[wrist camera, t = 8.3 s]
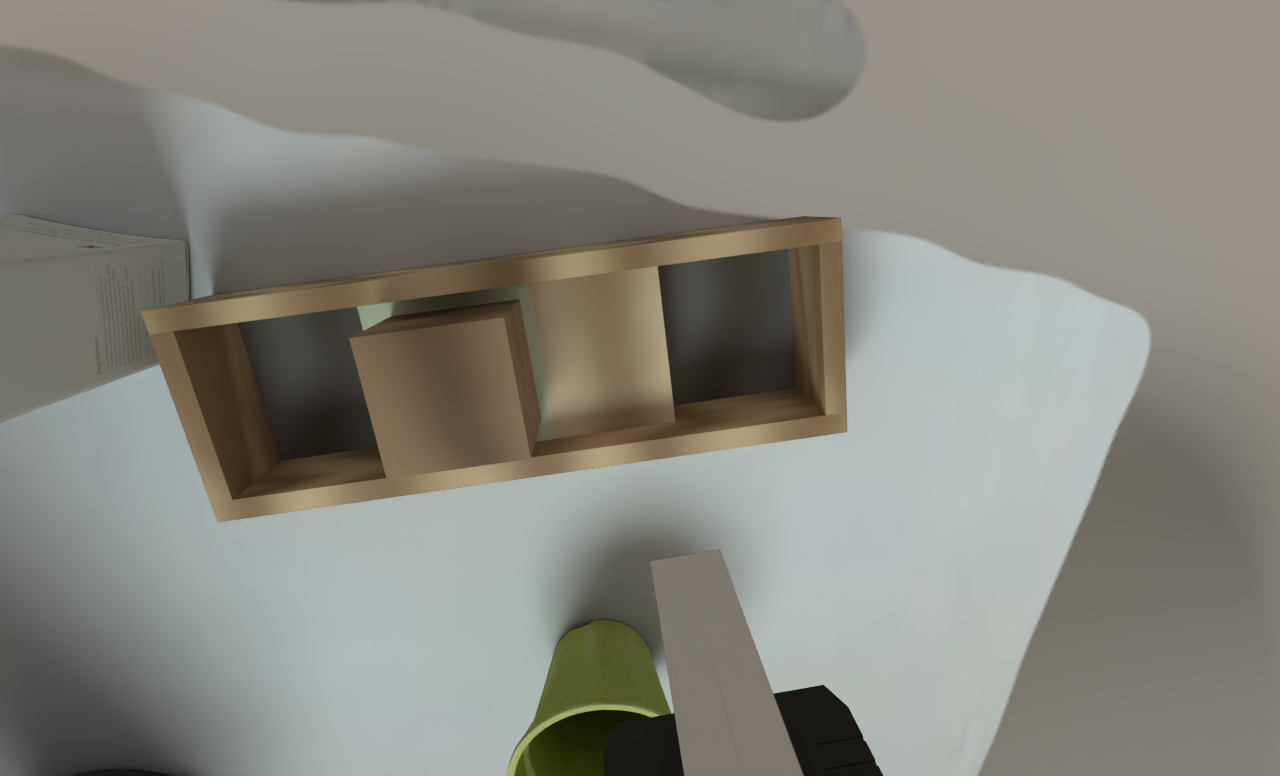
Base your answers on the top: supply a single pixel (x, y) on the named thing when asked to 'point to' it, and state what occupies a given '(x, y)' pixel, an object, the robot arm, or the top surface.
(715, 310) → the wooden cubby shelf
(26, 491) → the top surface
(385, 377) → the walnut block
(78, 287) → the skincare box
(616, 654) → the plant pot
